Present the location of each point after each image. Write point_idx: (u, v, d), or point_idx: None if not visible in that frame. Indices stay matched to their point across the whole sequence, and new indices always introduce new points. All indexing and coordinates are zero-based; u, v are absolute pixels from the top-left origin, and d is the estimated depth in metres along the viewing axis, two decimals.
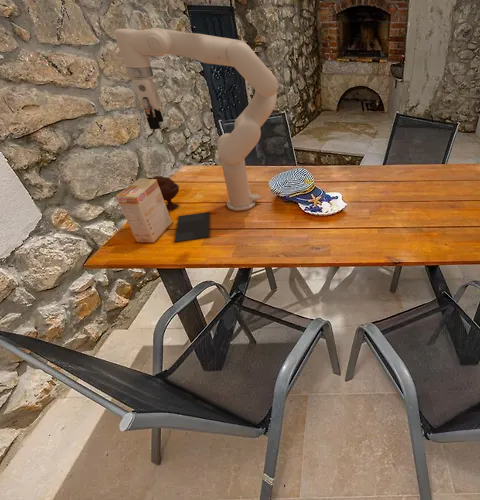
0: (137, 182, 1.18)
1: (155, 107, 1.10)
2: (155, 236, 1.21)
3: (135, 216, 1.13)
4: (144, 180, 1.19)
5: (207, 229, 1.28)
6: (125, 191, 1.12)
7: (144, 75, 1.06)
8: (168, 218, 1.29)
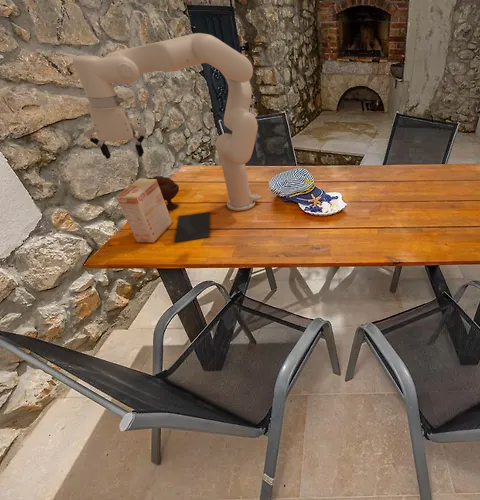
0: (137, 182, 1.18)
1: None
2: (155, 236, 1.21)
3: (135, 216, 1.13)
4: (144, 180, 1.19)
5: (207, 229, 1.28)
6: (125, 191, 1.12)
7: None
8: (168, 218, 1.29)
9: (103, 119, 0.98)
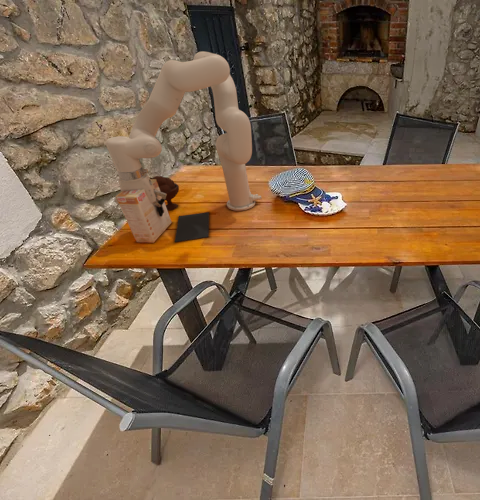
0: None
1: None
2: (155, 236, 1.21)
3: (135, 216, 1.13)
4: None
5: (207, 229, 1.28)
6: (125, 191, 1.12)
7: None
8: (168, 218, 1.29)
9: (130, 188, 1.12)
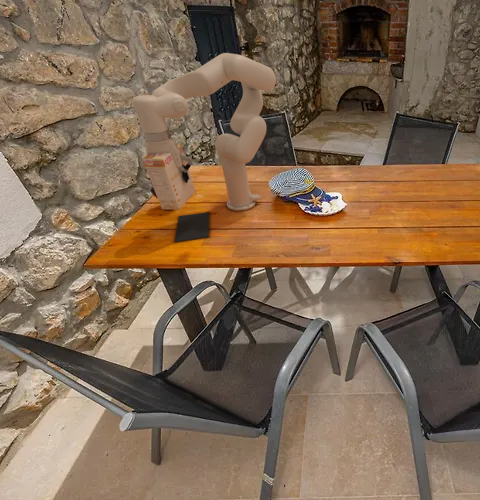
0: None
1: None
2: (180, 203, 1.17)
3: (161, 180, 1.09)
4: None
5: (207, 229, 1.28)
6: (151, 154, 1.08)
7: None
8: (192, 186, 1.25)
9: (156, 151, 1.08)
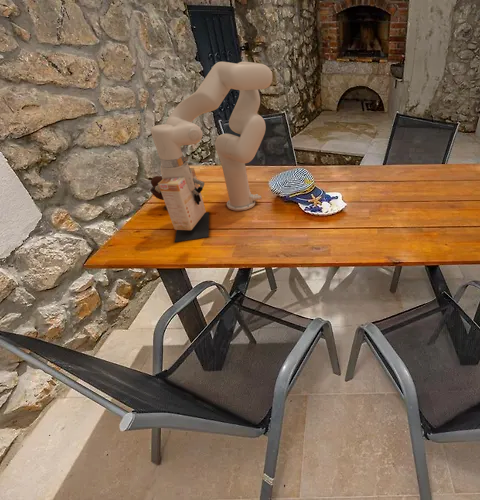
0: None
1: None
2: (192, 223, 1.23)
3: (176, 203, 1.15)
4: None
5: (207, 229, 1.28)
6: (166, 179, 1.14)
7: None
8: (203, 207, 1.31)
9: (171, 175, 1.14)
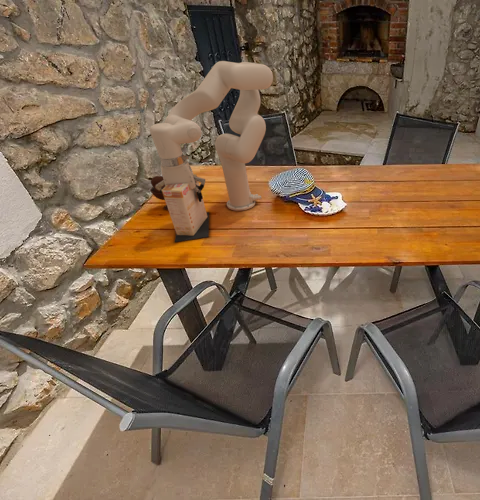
0: None
1: None
2: (194, 229, 1.24)
3: (178, 209, 1.17)
4: None
5: (207, 229, 1.28)
6: (169, 185, 1.15)
7: None
8: (204, 212, 1.33)
9: (172, 174, 1.14)
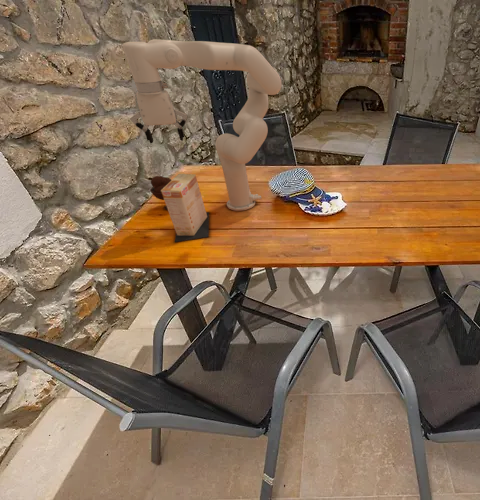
0: (177, 177, 1.21)
1: None
2: (194, 229, 1.24)
3: (178, 209, 1.17)
4: (184, 175, 1.23)
5: (207, 229, 1.28)
6: (169, 185, 1.15)
7: None
8: (204, 212, 1.33)
9: (149, 103, 1.03)
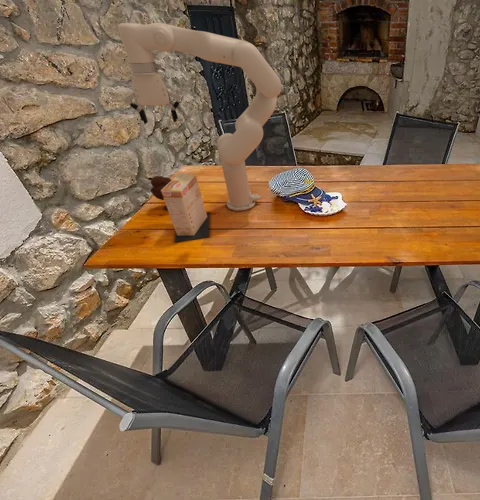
0: (177, 177, 1.21)
1: None
2: (194, 229, 1.24)
3: (178, 209, 1.17)
4: (184, 175, 1.23)
5: (207, 229, 1.28)
6: (169, 185, 1.15)
7: None
8: (204, 212, 1.33)
9: (143, 84, 1.06)
